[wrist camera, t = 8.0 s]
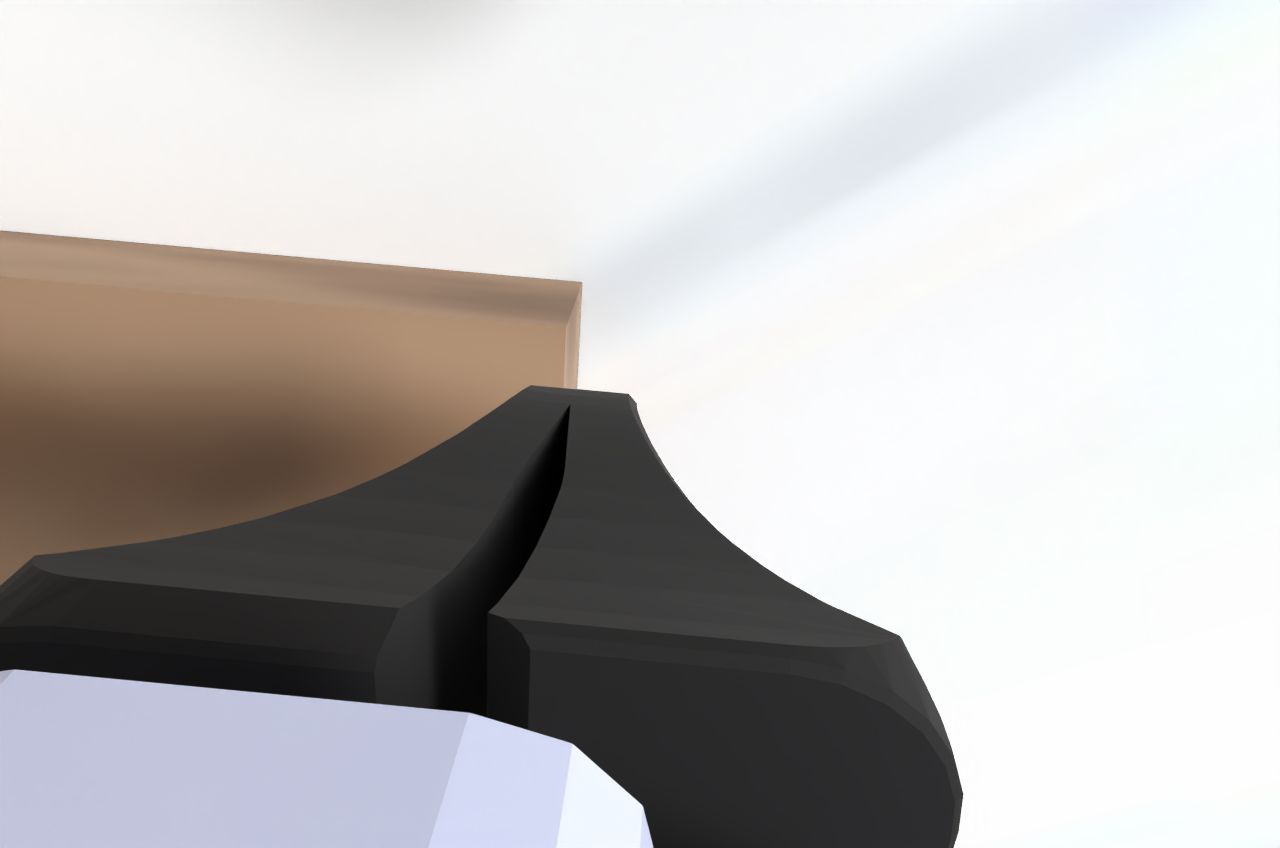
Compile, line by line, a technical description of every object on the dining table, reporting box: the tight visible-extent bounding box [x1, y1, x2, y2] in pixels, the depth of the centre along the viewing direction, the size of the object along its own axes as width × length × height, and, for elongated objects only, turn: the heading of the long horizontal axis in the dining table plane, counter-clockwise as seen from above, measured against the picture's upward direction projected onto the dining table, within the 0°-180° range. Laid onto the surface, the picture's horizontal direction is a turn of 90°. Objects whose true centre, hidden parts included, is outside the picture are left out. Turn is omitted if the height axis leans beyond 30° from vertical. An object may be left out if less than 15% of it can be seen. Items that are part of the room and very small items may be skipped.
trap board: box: [0, 231, 582, 585], centre depth 24 cm, size 16×24×3 cm, turn 86°
